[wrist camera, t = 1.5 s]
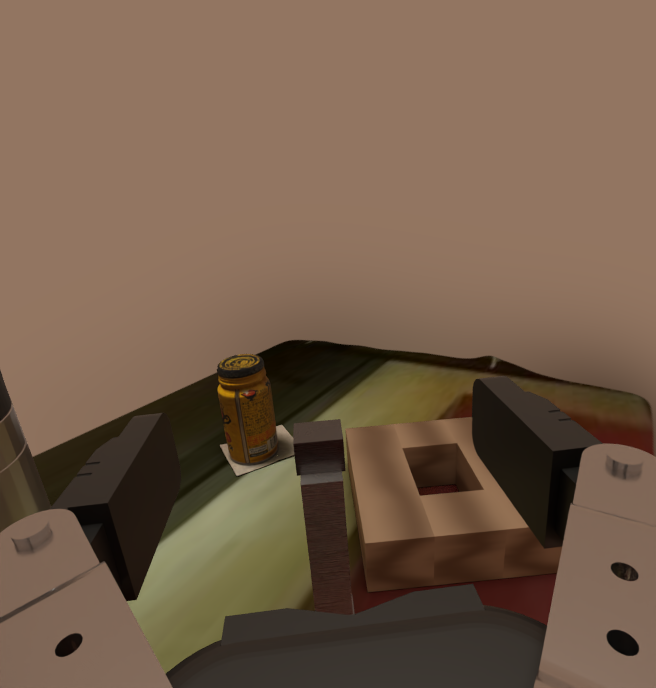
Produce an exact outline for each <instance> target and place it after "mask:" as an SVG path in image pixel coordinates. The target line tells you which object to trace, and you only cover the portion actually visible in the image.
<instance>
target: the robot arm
mask: <svg viewBox="0 0 656 688" xmlns="http://www.w3.org/2000/svg"><path fill="white" fill-rule="evenodd" d="M472 439H473V444H474V448H475V450H476V453H477V455H478V457H479V458H480V459H481V461H482V462H483V464H484V465H485V466H486V468H487V469H488V471H489V472H490V473H491V475H492V476H493V478H494V479H495V480H496V482H497V483H498V485H499V486H500V487H501V489H502V490H503V492H504V493H505V494H506V496H507V497H508V499H509V500H510V501H511V503H512V504H513V506H514V507H515V509H516V510H517V511H518V513H519V514H520V516H521V517H522V518H523V520H524V521H525V523H526V524H527V525H528V527H529V528H530V530H531V531H532V532H533V534H534V535H535V537H536V538H537V539H538V541H539V542H540V544H541V545H542V546H543V548H544V549H547V548H555V547H562V551H561V556H560V562H559V567H558V572H557V577H556V583H555V588H554V593H553V598H552V604H551V609H550V614H549V619H548V625H547V626H546V625H545V624H543V623H541V622H539V621H537V620H534V619H532V618H530V617H527V616H525V615H523V614H519V613H516V612H513V611H510V610H507V609H502V608H498V607H493V606H486V605H483V604H482V602H481V600H480V598H479V596H478V594H477V591H476V589H475V587H474V585H473V584H469V585H462V586H454V587H446V588H439V589H431V590H424V591H416V592H412V593H409V594H406V595H404V596H401V597H399V598H396V599H394V600H391V601H388V602H386V603H383V604H381V605H378V606H376V607H373V608H370V609H368V610H365V611H363V612H360V613H357V614H352V615H345V614H335V613H326V612H317V611H307V610H298V609H288V608H286V609H279V610H271V611H264V612H256V613H248V614H241V615H233V616H225V622H224V628H223V634H222V640H220V641H217V642H215V643H213V644H211V645H209V646H207V647H205V648H203V649H201V650H199V651H197V652H195V653H194V654H192V655H191V656H189V657H188V658H186V659H184V660H183V661H182V662H180V663H179V664H178V665H176V666H175V667H174V668H172V669H171V670H170V671H169V672H167V673H166V674H165V673H164V671H163V669H162V667H161V665H160V663H159V661H158V659H157V658H156V656H155V654H154V652H153V650H152V648H151V646H150V645H149V643H148V641H147V639H146V637H145V635H144V633H143V631H142V630H141V628H140V626H139V624H138V622H137V620H136V618H135V617H134V615H133V613H132V611H131V609H130V607H129V605H128V603H127V602H126V601H131V600H137V597H138V595H139V592H140V590H141V587H142V584H143V582H144V579H145V577H146V574H147V572H148V569H149V566H150V564H151V561H152V559H153V556H154V554H155V551H156V548H157V546H158V543H159V541H160V538H161V536H162V533H163V531H164V528H165V525H166V523H167V520H168V518H169V515H170V513H171V510H172V507H173V505H174V502H175V500H176V497H177V495H178V492H179V489H180V483H181V470H180V464H179V459H178V455H177V451H176V446H175V442H174V437H173V433H172V429H171V424H170V420H169V418H168V416H167V414H165V413H160V414H151V415H142V416H134V417H133V418H132V419H131V421H130V422H129V423H128V425H127V426H126V428H125V429H124V430H123V432H122V433H121V434H120V436H119V437H115V438H112V439H111V440H109V441H108V442H107V443H105V444H104V445H102V446H101V447H100V448H98V449H97V450H96V451H95V452H94V453H93V454H92V456H91V457H90V458H89V460H88V461H87V462H86V466H83V467H82V469H81V470H80V471H79V472H78V474H77V477H75V478H74V479H73V480H72V481H71V483H70V484H69V485H68V487H67V488H66V489H65V490H64V492H63V493H62V494H61V496H60V497H59V498H58V499H57V501H56V502H55V503H54V505H53V506H52V507H51V505H50V503H49V500H48V497H47V495H46V492H45V489H44V487H43V484H42V481H41V479H40V476H39V473H38V471H37V468H36V465H35V463H34V460H33V457H32V455H31V452H30V449H29V447H28V444H27V441H26V438H25V437H24V434H23V431H22V428H21V426H20V423H19V420H18V418H17V415H16V412H15V410H14V407H13V404H12V402H11V399H10V397H9V394H8V391H7V389H6V386H5V383H4V380H3V377H2V374H1V371H0V688H656V457H654V456H653V455H651V454H649V453H647V452H644V451H642V450H639V449H636V448H633V447H629V446H624V445H618V444H602V443H601V442H600V441H599V440H597V439H596V438H595V437H594V436H592V435H591V434H590V433H589V432H587V431H586V430H585V429H584V428H582V427H581V426H580V425H579V424H577V423H576V422H575V421H574V420H572V421H571V418H570V417H569V416H567V415H566V414H565V413H564V412H560V409H559V408H557V407H556V406H555V405H554V404H552V403H551V402H550V401H549V400H547V399H545V398H543V397H540V396H538V395H536V394H533V393H531V392H524V391H523V390H522V389H521V388H520V387H519V386H517V385H516V384H515V383H514V382H513V381H511V380H510V379H509V378H508V377H506V376H499V377H490V378H481V379H476V380H475V382H474V384H473V403H472Z"/></svg>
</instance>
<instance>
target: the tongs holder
mask: <svg viewBox="0 0 656 688" xmlns="http://www.w3.org/2000/svg"><path fill="white" fill-rule="evenodd" d="M346 443H347V458H348V469H349V476H350V482H351V488H352V495H353V501H354V508H355V514H356V520H357V527H358V533H359V539H360V546H361V552H362V559H363V565H364V571H365V578H366V584H367V590H368V592H375V591H385V590H395V589H405V588H415V587H424V586H434V585H444V584H454V583H464V582H474V581H483V580H493V579H503V578H513V577H523V576H533V575H542V574H552V573H557V572H558V567H559V562H560V556H561V551H562V547H555V548H547V549H544V548H543V546H542V545H541V544H540V542H539V541H538V539H537V538H536V537H535V535H534V534H533V532H532V531H531V530H530V528H529V527H528V525H527V524H526V523H525V521H524V520H523V518H522V517H521V516H520V514H519V513H518V511H517V510H516V509H515V507H514V506H513V504H512V503H511V501H510V500H509V499H508V497H507V496H506V494H505V493H504V492H503V490H502V489H501V487H500V486H499V485H498V483H497V482H496V480H495V479H494V478H493V476H492V475H491V473H490V472H489V471H488V469H487V468H486V466H485V465H484V464H483V462H482V461H481V459H480V458H479V457H478V455H477V453H476V450H475V448H474V444H473V439H472V417H467V418H456V419H446V420H435V421H424V422H413V423H402V424H392V425H381V426H370V427H359V428H348V429H346ZM450 484H456V486H457V488H458V490H459V492H455V493H445V494H434V495H424V496H420V495H419V492H418V490H417V488H419V487H430V486H440V485H450Z"/></svg>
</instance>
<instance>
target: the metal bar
mask: <svg viewBox="0 0 656 688" xmlns="http://www.w3.org/2000/svg"><path fill="white" fill-rule="evenodd" d="M293 446H294V455H295V463H296V471H297V476H298V475H301V492H302V501H303V509H304V518H305V526H306V535H307V543H308V552H309V560H310V569H311V577H312V586H313V595H314V603H315V611H317V612H326V613H335V614H345V615H352V614H354V606H353V598H352V594H351V582H350V569H349V555H348V542H347V528H346V515H345V502H344V488H343V477H342V471H345V458H344V444H343V435H342V429H341V422H340V419H338V420H327V421H316V422H305V423H295V424H294V435H293Z"/></svg>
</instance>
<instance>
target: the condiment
mask: <svg viewBox="0 0 656 688" xmlns="http://www.w3.org/2000/svg"><path fill="white" fill-rule="evenodd" d="M217 372H218V375H219V383H220V385H219V386H218V397H219V402H220V407H221V412H222V419H223V423H224V429H225V434H226V435H225V436H226V440H227V444H224V445H220V447H221V448H222V451H223V452H224V454H225V456H226V458H227V460H228V461H229V463H230V465H231V467H232V468H233V470H234V472H235V474H236V475H237V476H238V475H241V474H244V473H247V472H250V471H253V470H255V469H259V468H261V467H264V466H267V465H269V464H271V463H274V462H276V461H277V460H281V459H284V458H287V457H290V456H292V455H294V446H293V437H292V436H291V435H290V434H289V433H288V431H286V429H285V428H284V427H283V426H282V425H280V426H276V423H275V416H274V409H273V401H272V393H271V386H270V381H269V379H268V378H267V377H266V371H265V369H264V361H263V359H262V358H261V357H259V356H257V355H253V354H252V355H251V354H241V355H235V356H232V357H229V358H226V359H225V360H223V361H221V362H220V363H219V364H218V369H217ZM277 455H278V456H277Z"/></svg>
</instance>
